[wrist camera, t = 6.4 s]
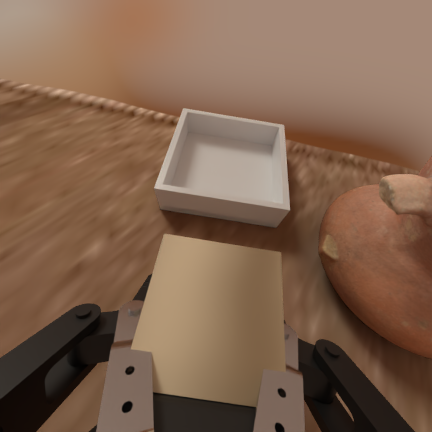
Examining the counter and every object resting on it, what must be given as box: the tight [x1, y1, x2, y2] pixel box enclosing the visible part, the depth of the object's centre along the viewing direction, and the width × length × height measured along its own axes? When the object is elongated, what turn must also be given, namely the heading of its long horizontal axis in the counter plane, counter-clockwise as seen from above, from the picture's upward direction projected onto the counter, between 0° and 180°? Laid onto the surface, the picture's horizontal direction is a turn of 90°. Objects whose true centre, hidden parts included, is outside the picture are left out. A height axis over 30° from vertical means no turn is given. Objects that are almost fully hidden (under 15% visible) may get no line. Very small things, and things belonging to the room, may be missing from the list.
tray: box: [154, 108, 290, 228], centre depth 22 cm, size 12×12×4 cm
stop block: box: [131, 234, 286, 407], centre depth 11 cm, size 5×5×10 cm
